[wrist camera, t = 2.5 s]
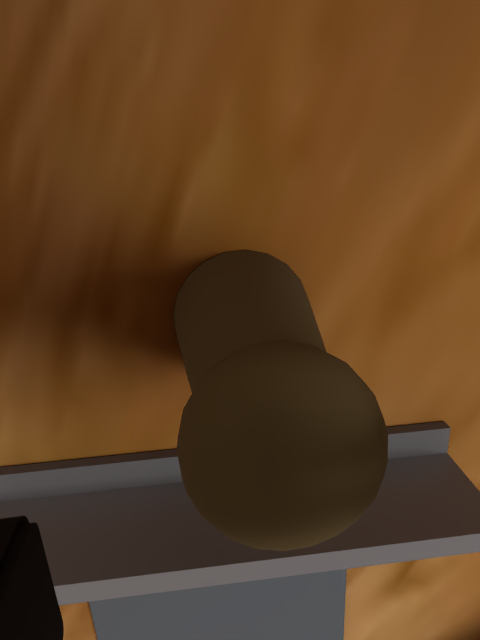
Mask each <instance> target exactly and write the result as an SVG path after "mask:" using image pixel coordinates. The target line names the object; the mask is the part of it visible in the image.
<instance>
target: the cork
mask: <svg viewBox="0 0 480 640" xmlns="http://www.w3.org/2000/svg"><path fill="white" fill-rule="evenodd" d="M173 319H174V325H175V331H176V336H177V340H178V344H179V347H180V351H181V355H182V358H183V362H184V365H185V369H186V373H187V376H188V380H189V384H190V387H191V391H192V395H191V397H190V398H189V400H188V402H187V404H186V406H185V407H184V409H183V414H182V419H181V424H180V429H179V434H178V443H177V455H178V460H179V466H180V471H181V477H182V481H183V483H184V486H185V489H186V492H187V494H188V496H189V497H190V499H191V500H192V502H193V503H194V505H195V507H196V508H197V510H198V511H199V513H200V514H201V516H202V517H203V518H205V519H206V520H207V521H208V522H209V523H210V524H211V525H212V526H214V527H215V528H216V529H218V530H219V531H220V532H222V533H223V534H224V535H225V536H227V537H228V538H229V539H231V540H233V541H235V542H238V543H241V544H244V545H246V546H249V547H252V548H255V549H262V550H275V551H288V550H294V549H300V548H306V547H311V546H314V545H316V544H319V543H321V542H323V541H326V540H328V539H330V538H333V537H335V536H337V535H339V534H340V533H341V532H343V531H344V530H345V529H347V528H348V527H349V526H351V525H352V524H354V523H355V522H356V521H358V520H359V519H360V518H361V516H362V515H363V514H364V512H365V511H366V510H367V509H368V507H369V506H370V505H371V504H372V502H373V501H374V500H375V498H376V496H377V493H378V491H379V488H380V485H381V483H382V480H383V477H384V475H385V471H386V467H387V463H388V432H387V429H386V425H385V421H384V418H383V416H382V413H381V411H380V408H379V405H378V403H377V400H376V397H375V395H374V394H373V392H372V391H371V390H370V389H369V387H368V386H367V385H366V383H365V382H364V381H363V380H362V379H361V378H360V377H359V376H358V375H357V374H356V373H355V371H354V370H353V369H352V368H351V367H350V366H349V365H348V364H347V363H346V362H344V361H342V360H340V359H338V358H336V357H334V356H333V355H331V354H329V353H327V352H326V349H325V346H324V343H323V340H322V338H321V335H320V332H319V329H318V326H317V323H316V320H315V317H314V314H313V311H312V308H311V305H310V302H309V300H308V297H307V294H306V292H305V290H304V287H303V285H302V282H301V280H300V279H299V278H298V276H297V275H296V274H295V273H294V272H293V271H292V270H291V269H290V267H289V266H288V265H287V264H285V263H283V262H282V261H280V260H278V259H276V258H275V257H273V256H271V255H269V254H266V253H261V252H256V251H251V250H239V251H231V252H224V253H222V254H219V255H217V256H215V257H213V258H211V259H209V260H207V261H204V262H203V263H202V264H201V265H200V266H198V267H197V268H196V269H195V270H194V271H193V272H192V273H191V274H190V275H189V276H188V277H187V278H186V280H185V282H184V284H183V285H182V287H181V289H180V291H179V293H178V294H177V297H176V303H175V309H174V314H173Z"/></svg>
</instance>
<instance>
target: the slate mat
mask: <svg viewBox="0 0 480 640" xmlns="http://www.w3.org/2000/svg"><path fill="white" fill-rule="evenodd" d="M345 590H346V569H341V570H333V571H325V572H317V573H310V574H302V575H294V576H286V577H278V578H270V579H262V580H255V581H247V582H239V583H231V584H223V585H215V586H207V587H199V588H192V589H184V590H176V591H168V592H160V593H152V594H144V595H137V596H129V597H121V598H113V599H105V600H97V601H89V605H90V609H91V613H92V617H93V622H94V626H95V630H96V634H97V639H98V640H343V636H344V613H345Z"/></svg>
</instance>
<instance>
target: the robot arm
mask: <svg viewBox="0 0 480 640" xmlns="http://www.w3.org/2000/svg"><path fill="white" fill-rule="evenodd" d="M0 640H63V620H62V616H61V612H60V608H59V605H58V601H57V597H56V593H55V589H54V585H53V581H52V577H51V573H50V569H49V565H48V561H47V557H46V554H45V550H44V546H43V542H42V538H41V534H40V530H39V527H38V524H37V523H35V522H34V523H29V521H28V518H27V517H26V516H17V517H9V518H1V519H0Z"/></svg>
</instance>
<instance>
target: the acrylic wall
mask: <svg viewBox="0 0 480 640" xmlns="http://www.w3.org/2000/svg"><path fill="white" fill-rule="evenodd" d="M386 429H387V432H388V463H387V467H386V471H385V475H384V477H383V480H382V483H381V485H380V488H379V491H378V493H377V496H376V498H375V500H374V501H373V502H372V504H371V505H370V506H369V507H368V509H367V510H366V511H365V512H364V514H363V515H362V516H361V518H360V519H359V520H358V521H356V522H355V523H354V524H352V525H351V526H349V527H348V528H347V529H345V530H344V531H343V532H341V533H340V534H339V535H337V536H335V537H333V538H330V539H328V540H326V541H323V542H321V543H319V544H316V545H314V546H311V547H306V548H300V549H294V550H288V551H275V550H262V549H255V548H252V547H249V546H246V545H244V544H241V543H238V542H235V541H233V540H231V539H229V538H228V537H227V536H225V535H224V534H223V533H222V532H220V531H219V530H218V529H216V528H215V527H214V526H212V525H211V524H210V523H209V522H208V521H207V520H206V519H205V518H203V517H202V516H201V514H200V513H199V511H198V510H197V508H196V507H195V505H194V503H193V502H192V500H191V499H190V497H189V496H188V494H187V492H186V489H185V486H184V483H183V481H182V477H181V471H180V466H179V460H178V455H177V449H172V450H162V451H152V452H143V453H133V454H123V455H114V456H104V457H95V458H85V459H75V460H66V461H56V462H46V463H37V464H27V465H17V466H8V467H0V519H1V518H9V517H17V516H26V517H27V518H28V521H29V523H34V522H35V523H37V524H38V527H39V530H40V534H41V538H42V542H43V546H44V550H45V554H46V557H47V561H48V565H49V569H50V573H51V577H52V581H53V585H54V589H55V593H56V597H57V601H58V605H66V604H74V603H82V602H89V601H97V600H105V599H113V598H121V597H129V596H137V595H144V594H152V593H160V592H168V591H176V590H184V589H192V588H199V587H207V586H215V585H223V584H231V583H239V582H247V581H255V580H262V579H270V578H278V577H286V576H294V575H302V574H310V573H317V572H325V571H333V570H341V569H349V568H357V567H365V566H372V565H380V564H388V563H396V562H404V561H412V560H420V559H427V558H435V557H443V556H451V555H459V554H467V553H475V552H480V491H479V490H478V489H477V488H476V487H475V486H474V484H473V483H472V482H471V481H470V480H469V478H468V477H467V476H466V475H465V474H464V473H463V471H462V470H461V469H460V468H459V467H458V465H457V464H456V463H455V462H454V461H453V459H452V458H451V457H450V456H449V455H448V454H447V450H448V443H449V435H450V427H449V426H448V425H447V424H446V423H445V422H444V421H442V422H432V423H423V424H413V425H403V426H394V427H386Z"/></svg>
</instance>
